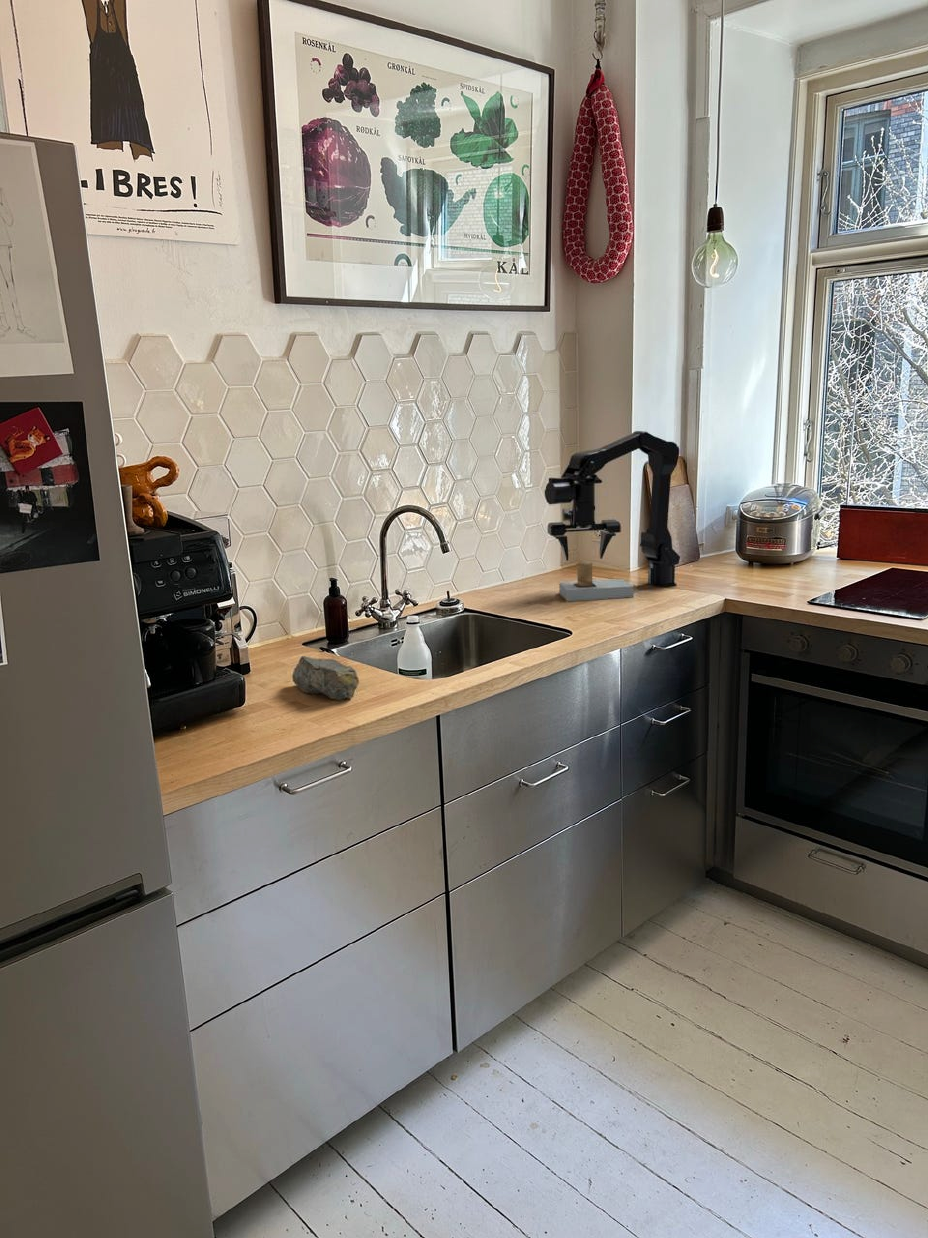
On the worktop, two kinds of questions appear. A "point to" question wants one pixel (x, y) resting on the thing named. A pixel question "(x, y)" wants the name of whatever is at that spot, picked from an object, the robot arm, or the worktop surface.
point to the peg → (584, 574)
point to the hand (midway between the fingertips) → (584, 559)
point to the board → (596, 590)
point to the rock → (325, 678)
